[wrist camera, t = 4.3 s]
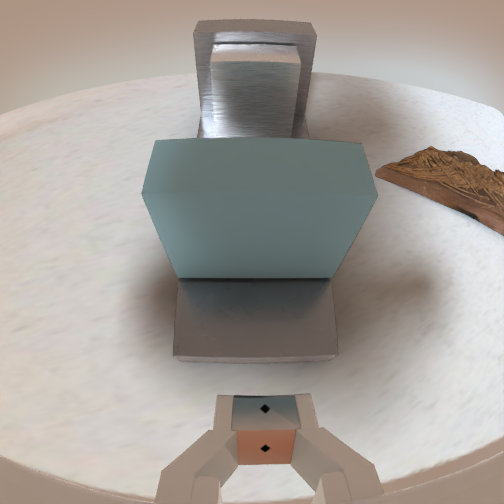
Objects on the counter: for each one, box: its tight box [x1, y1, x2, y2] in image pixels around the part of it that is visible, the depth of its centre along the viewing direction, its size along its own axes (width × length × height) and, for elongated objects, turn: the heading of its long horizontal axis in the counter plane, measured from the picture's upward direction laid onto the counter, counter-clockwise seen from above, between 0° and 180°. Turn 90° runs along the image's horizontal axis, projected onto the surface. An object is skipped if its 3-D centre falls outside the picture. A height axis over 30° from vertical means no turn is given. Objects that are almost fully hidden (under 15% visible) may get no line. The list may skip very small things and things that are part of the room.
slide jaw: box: [141, 137, 378, 278], centre depth 16 cm, size 3×9×8 cm, turn 91°
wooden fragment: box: [375, 146, 504, 235], centre depth 25 cm, size 26×11×1 cm, turn 80°
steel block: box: [210, 44, 301, 138], centre depth 22 cm, size 3×6×7 cm, turn 90°
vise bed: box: [173, 19, 338, 363], centre depth 19 cm, size 24×9×10 cm, turn 0°
